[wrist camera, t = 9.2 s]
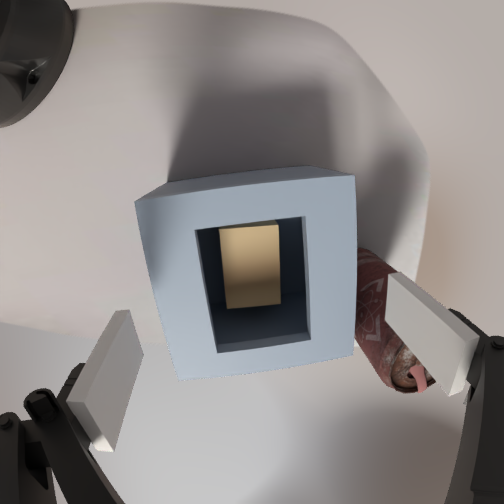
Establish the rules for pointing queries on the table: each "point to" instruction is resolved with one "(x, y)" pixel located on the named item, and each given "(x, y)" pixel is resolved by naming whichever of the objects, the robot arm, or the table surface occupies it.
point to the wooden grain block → (251, 264)
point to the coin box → (291, 269)
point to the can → (383, 329)
